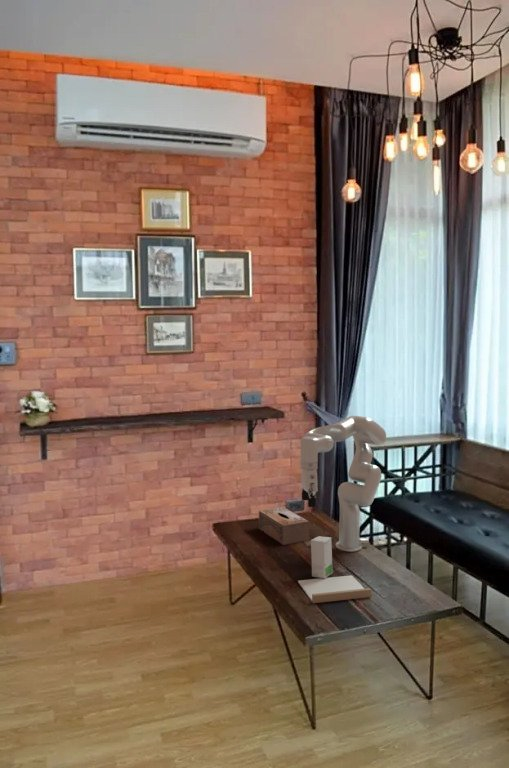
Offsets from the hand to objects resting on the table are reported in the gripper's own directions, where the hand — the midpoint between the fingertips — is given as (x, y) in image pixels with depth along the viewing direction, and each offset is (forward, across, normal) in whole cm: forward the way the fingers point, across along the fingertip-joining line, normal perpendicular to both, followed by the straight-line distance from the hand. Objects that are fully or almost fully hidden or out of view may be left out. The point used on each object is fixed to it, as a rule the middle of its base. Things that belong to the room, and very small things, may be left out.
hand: (308, 503), depth 264 cm
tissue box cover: (+29, +40, +1) cm, 50 cm away
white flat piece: (+28, -24, -3) cm, 38 cm away
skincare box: (+28, -12, -3) cm, 31 cm away
